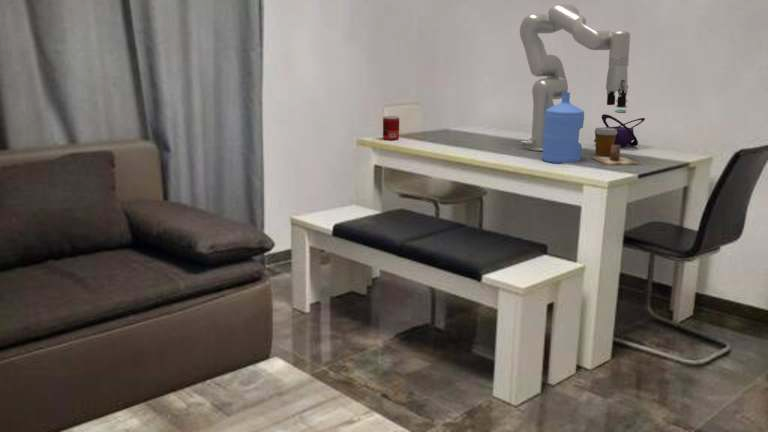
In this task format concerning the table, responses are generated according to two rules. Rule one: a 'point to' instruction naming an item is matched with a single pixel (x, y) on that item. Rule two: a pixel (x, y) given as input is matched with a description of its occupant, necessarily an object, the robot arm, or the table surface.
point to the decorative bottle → (622, 130)
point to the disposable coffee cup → (604, 140)
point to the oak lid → (614, 158)
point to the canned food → (390, 128)
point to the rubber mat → (612, 165)
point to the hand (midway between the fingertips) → (615, 105)
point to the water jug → (562, 132)
